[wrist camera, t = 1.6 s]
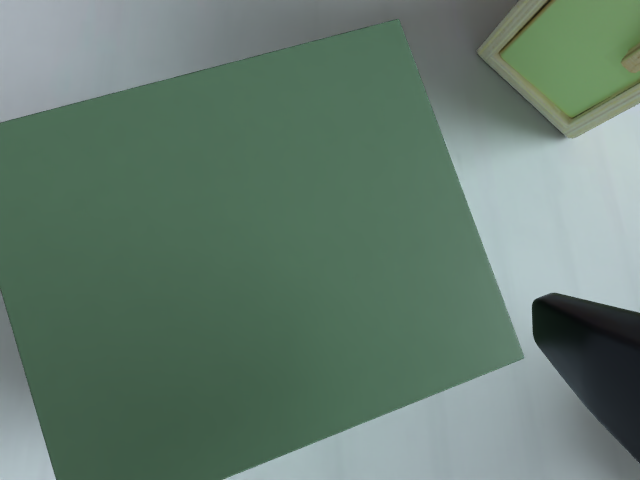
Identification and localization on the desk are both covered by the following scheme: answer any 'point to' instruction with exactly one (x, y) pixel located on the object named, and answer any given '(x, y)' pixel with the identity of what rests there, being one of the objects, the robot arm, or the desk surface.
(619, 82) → the tall beige block
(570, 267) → the desk surface
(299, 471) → the desk surface
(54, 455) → the storage box
